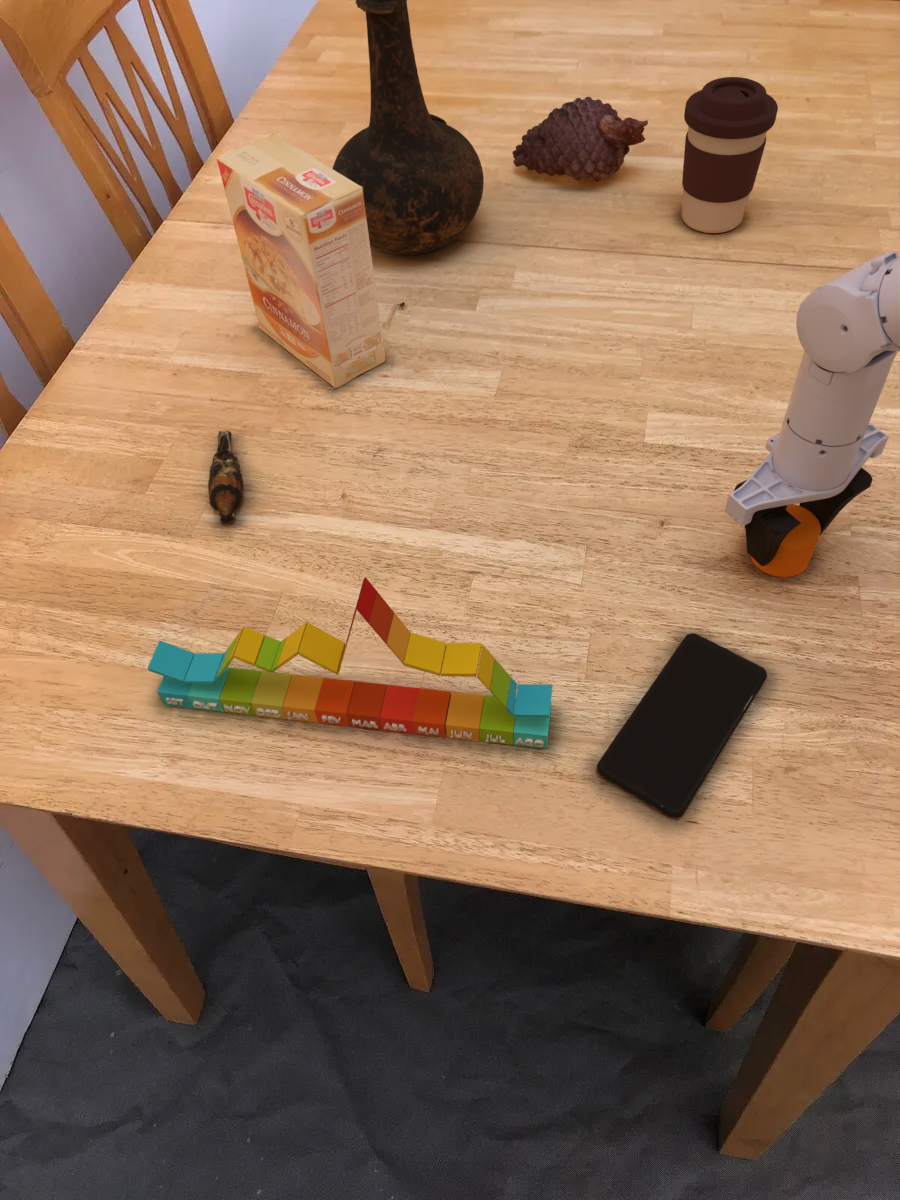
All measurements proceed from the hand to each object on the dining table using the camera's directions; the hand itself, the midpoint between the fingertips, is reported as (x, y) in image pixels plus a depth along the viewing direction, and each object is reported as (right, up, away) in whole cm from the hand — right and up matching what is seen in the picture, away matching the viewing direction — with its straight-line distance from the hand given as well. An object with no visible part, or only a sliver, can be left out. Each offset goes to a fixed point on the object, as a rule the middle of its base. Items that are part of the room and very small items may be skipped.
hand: (783, 543), depth 78 cm
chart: (-36, -14, -6) cm, 39 cm away
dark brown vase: (-33, +40, +36) cm, 63 cm away
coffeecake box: (-42, +23, +23) cm, 53 cm away
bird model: (-50, +6, +10) cm, 51 cm away
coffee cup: (+4, +42, +34) cm, 54 cm away
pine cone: (-11, +51, +43) cm, 68 cm away
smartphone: (-11, -14, -8) cm, 20 cm away
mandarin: (0, -1, +1) cm, 1 cm away
